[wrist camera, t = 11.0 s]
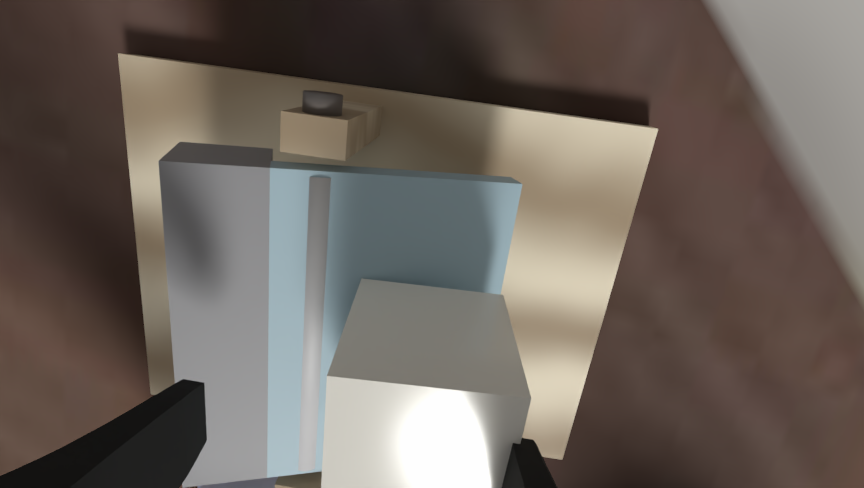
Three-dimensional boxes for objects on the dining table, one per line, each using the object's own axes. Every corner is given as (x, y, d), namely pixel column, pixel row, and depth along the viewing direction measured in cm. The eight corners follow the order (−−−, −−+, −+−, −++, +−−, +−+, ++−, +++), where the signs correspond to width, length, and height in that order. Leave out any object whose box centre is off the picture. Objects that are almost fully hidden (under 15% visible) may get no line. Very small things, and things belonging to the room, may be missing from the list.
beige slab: (558, 445, 26) (587, 569, 19) (162, 382, 26) (64, 482, 20) (649, 126, 20) (733, 153, 13) (134, 54, 20) (-19, 47, 14)
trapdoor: (448, 408, 24) (469, 455, 21) (196, 430, 21) (181, 490, 18) (490, 164, 20) (523, 184, 17) (179, 141, 16) (157, 161, 13)
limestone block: (480, 408, 19) (496, 542, 13) (352, 395, 18) (318, 524, 13) (503, 294, 17) (531, 398, 12) (361, 278, 17) (326, 375, 12)
